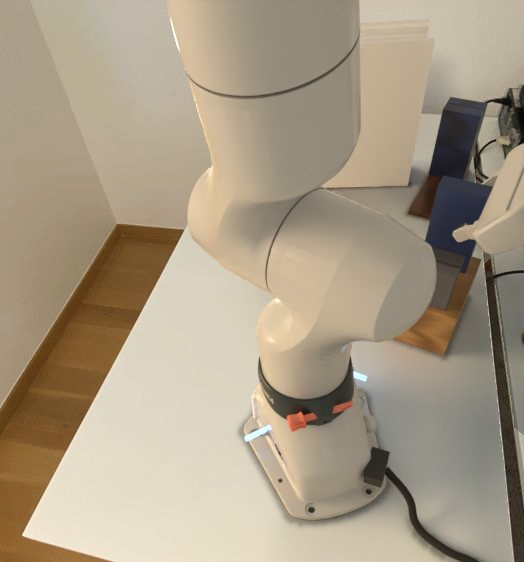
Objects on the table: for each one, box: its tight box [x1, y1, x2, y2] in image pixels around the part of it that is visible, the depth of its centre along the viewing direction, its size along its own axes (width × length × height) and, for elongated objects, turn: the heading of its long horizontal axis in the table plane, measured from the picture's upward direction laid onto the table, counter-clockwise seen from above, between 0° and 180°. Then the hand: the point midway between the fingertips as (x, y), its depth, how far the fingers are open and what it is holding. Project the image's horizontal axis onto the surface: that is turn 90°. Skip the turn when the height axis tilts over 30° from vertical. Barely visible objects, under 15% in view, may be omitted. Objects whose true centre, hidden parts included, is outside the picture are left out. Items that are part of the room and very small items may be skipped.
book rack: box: [407, 96, 489, 220], centre depth 96 cm, size 7×18×15 cm, turn 151°
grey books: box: [429, 247, 465, 311], centre depth 71 cm, size 6×4×8 cm, turn 62°
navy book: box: [424, 176, 493, 274], centre depth 73 cm, size 7×2×14 cm, turn 61°
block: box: [321, 18, 436, 189], centre depth 97 cm, size 35×8×28 cm, turn 86°
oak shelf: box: [394, 256, 483, 357], centre depth 80 cm, size 10×14×9 cm
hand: (465, 214), depth 70 cm, fingers open, 8 cm apart
